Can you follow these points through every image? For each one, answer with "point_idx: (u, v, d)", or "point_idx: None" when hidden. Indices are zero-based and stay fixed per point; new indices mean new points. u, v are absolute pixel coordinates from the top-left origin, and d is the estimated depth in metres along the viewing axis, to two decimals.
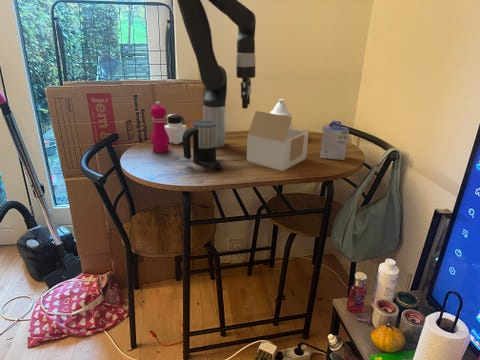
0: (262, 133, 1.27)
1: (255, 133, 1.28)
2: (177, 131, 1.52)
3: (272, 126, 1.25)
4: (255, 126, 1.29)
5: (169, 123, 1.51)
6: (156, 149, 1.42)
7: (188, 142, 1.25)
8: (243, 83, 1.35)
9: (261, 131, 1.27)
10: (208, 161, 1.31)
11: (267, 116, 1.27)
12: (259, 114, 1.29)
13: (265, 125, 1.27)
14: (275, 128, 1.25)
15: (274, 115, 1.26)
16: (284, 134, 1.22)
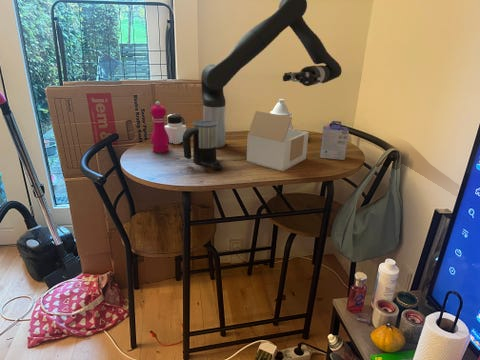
0: (262, 133, 1.27)
1: (255, 133, 1.28)
2: (177, 131, 1.52)
3: (272, 126, 1.25)
4: (255, 126, 1.29)
5: (169, 123, 1.51)
6: (156, 149, 1.42)
7: (188, 142, 1.25)
8: (320, 77, 1.34)
9: (261, 131, 1.27)
10: (208, 161, 1.31)
11: (267, 116, 1.27)
12: (259, 114, 1.29)
13: (265, 125, 1.27)
14: (275, 128, 1.25)
15: (274, 115, 1.26)
16: (284, 134, 1.22)
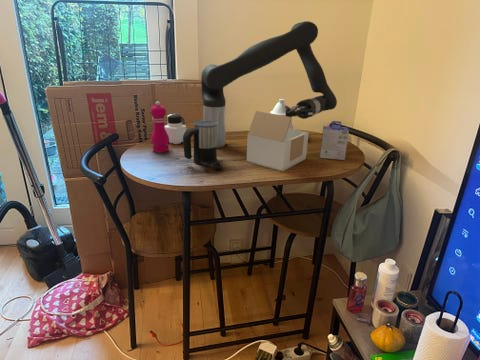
0: (262, 133, 1.27)
1: (255, 133, 1.28)
2: (177, 131, 1.52)
3: (272, 126, 1.25)
4: (255, 126, 1.29)
5: (169, 123, 1.51)
6: (156, 149, 1.42)
7: (188, 142, 1.25)
8: (312, 112, 1.38)
9: (261, 131, 1.27)
10: (209, 161, 1.31)
11: (267, 116, 1.27)
12: (259, 114, 1.29)
13: (265, 125, 1.27)
14: (275, 128, 1.25)
15: (274, 115, 1.26)
16: (284, 134, 1.22)
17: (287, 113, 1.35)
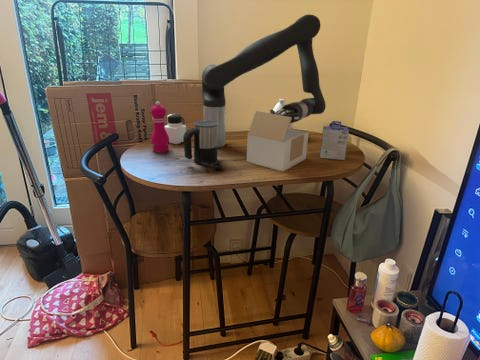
0: (262, 133, 1.27)
1: (255, 133, 1.28)
2: (177, 131, 1.52)
3: (272, 126, 1.25)
4: (255, 126, 1.29)
5: (169, 123, 1.51)
6: (156, 149, 1.42)
7: (189, 142, 1.25)
8: (298, 117, 1.29)
9: (261, 131, 1.27)
10: (209, 161, 1.31)
11: (267, 116, 1.27)
12: (259, 114, 1.29)
13: (265, 125, 1.27)
14: (275, 128, 1.24)
15: (274, 115, 1.26)
16: (284, 134, 1.22)
17: None
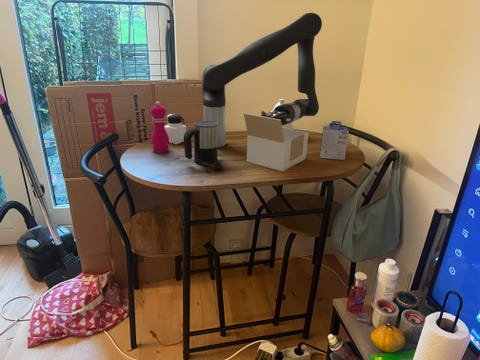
0: (260, 135, 1.26)
1: (254, 134, 1.28)
2: (177, 131, 1.52)
3: (266, 129, 1.23)
4: (250, 128, 1.27)
5: (169, 123, 1.51)
6: (156, 149, 1.42)
7: (189, 142, 1.25)
8: (289, 119, 1.25)
9: (259, 133, 1.26)
10: (209, 161, 1.31)
11: (257, 119, 1.22)
12: (248, 117, 1.24)
13: (259, 127, 1.24)
14: (270, 130, 1.22)
15: (263, 118, 1.20)
16: (281, 136, 1.21)
17: None
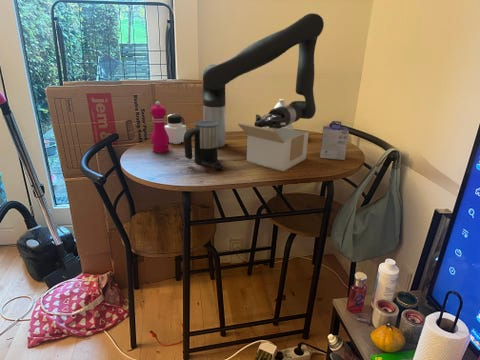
0: (260, 136, 1.26)
1: (254, 136, 1.28)
2: (177, 131, 1.52)
3: (263, 134, 1.22)
4: (248, 132, 1.27)
5: (169, 123, 1.51)
6: (156, 149, 1.42)
7: (189, 142, 1.25)
8: (284, 122, 1.22)
9: (258, 135, 1.26)
10: (209, 161, 1.31)
11: (251, 128, 1.21)
12: (243, 126, 1.23)
13: (256, 133, 1.24)
14: (267, 135, 1.21)
15: (257, 128, 1.19)
16: (279, 139, 1.20)
17: (256, 123, 1.19)
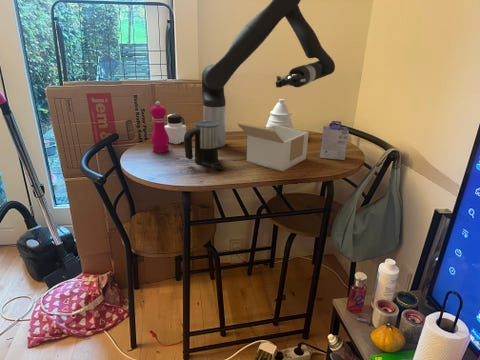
0: (260, 136, 1.26)
1: (254, 136, 1.28)
2: (177, 131, 1.52)
3: (263, 134, 1.22)
4: (248, 132, 1.27)
5: (169, 123, 1.51)
6: (156, 149, 1.42)
7: (190, 142, 1.25)
8: (304, 79, 1.28)
9: (258, 135, 1.26)
10: (210, 161, 1.30)
11: (251, 128, 1.21)
12: (243, 126, 1.23)
13: (256, 133, 1.24)
14: (267, 135, 1.21)
15: (257, 128, 1.19)
16: (279, 139, 1.20)
17: (277, 83, 1.26)
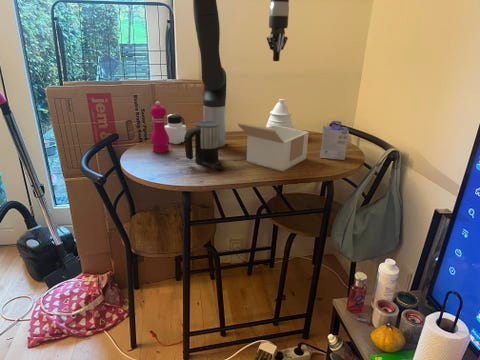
0: (260, 136, 1.26)
1: (254, 136, 1.28)
2: (177, 131, 1.52)
3: (263, 134, 1.22)
4: (248, 132, 1.27)
5: (169, 123, 1.51)
6: (156, 149, 1.42)
7: (190, 142, 1.25)
8: (268, 39, 1.38)
9: (258, 135, 1.26)
10: (210, 161, 1.30)
11: (251, 128, 1.21)
12: (243, 126, 1.23)
13: (256, 133, 1.24)
14: (267, 135, 1.21)
15: (257, 128, 1.19)
16: (279, 139, 1.20)
17: None
